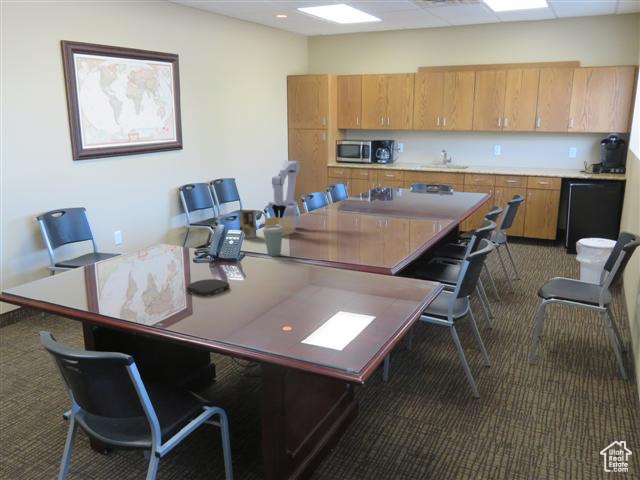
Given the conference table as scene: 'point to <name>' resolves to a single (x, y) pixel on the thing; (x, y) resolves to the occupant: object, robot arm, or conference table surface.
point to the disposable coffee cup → (273, 239)
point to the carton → (288, 230)
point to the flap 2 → (286, 222)
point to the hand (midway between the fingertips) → (279, 217)
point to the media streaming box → (208, 287)
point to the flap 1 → (272, 221)
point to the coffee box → (248, 223)
